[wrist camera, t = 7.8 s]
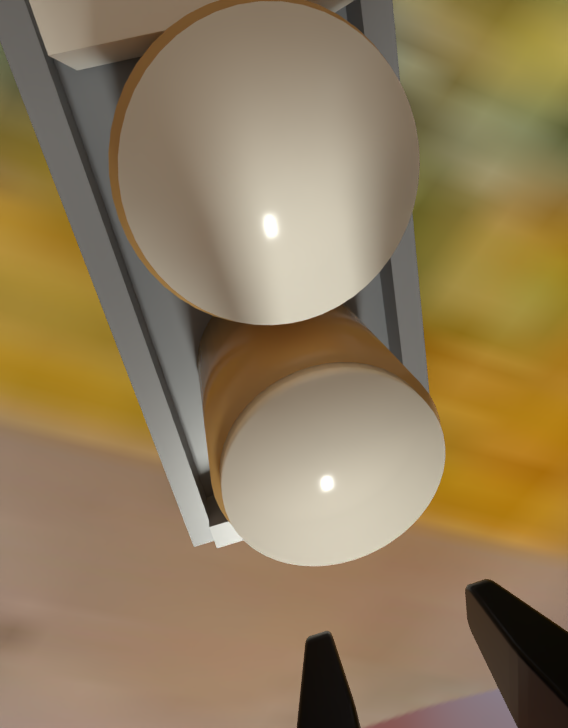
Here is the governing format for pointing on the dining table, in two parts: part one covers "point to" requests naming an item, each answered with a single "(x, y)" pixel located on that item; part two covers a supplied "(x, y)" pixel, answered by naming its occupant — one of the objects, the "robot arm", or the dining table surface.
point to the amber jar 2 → (316, 437)
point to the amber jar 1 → (263, 160)
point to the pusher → (113, 26)
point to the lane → (140, 288)
